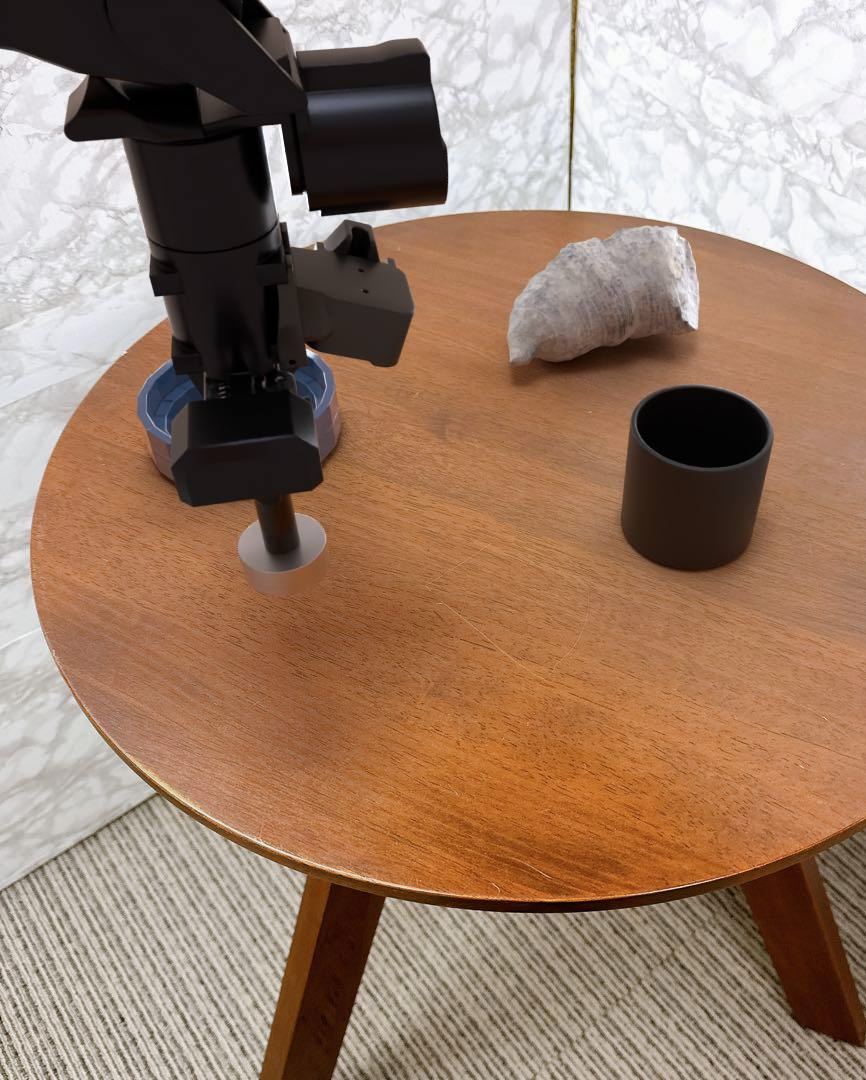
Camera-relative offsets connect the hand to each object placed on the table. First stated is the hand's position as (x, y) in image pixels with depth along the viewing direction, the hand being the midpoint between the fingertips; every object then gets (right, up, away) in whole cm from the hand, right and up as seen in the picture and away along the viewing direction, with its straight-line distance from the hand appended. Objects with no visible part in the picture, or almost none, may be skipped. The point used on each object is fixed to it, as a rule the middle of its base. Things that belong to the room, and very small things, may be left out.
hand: (269, 488), depth 56 cm
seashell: (+20, +14, +34) cm, 42 cm away
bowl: (-8, +5, +24) cm, 25 cm away
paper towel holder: (0, -4, +4) cm, 6 cm away
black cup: (+26, -1, +18) cm, 32 cm away
